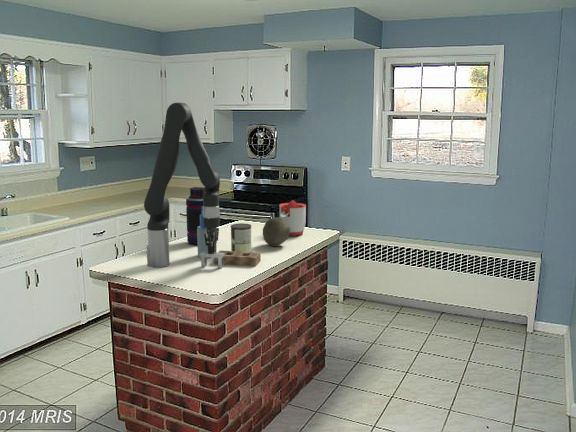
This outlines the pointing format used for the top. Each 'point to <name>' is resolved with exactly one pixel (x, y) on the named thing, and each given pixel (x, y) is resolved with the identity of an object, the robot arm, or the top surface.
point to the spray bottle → (201, 236)
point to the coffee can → (241, 237)
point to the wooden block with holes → (240, 258)
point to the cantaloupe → (276, 231)
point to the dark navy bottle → (194, 212)
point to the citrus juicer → (294, 216)
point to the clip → (215, 255)
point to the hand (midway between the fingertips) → (212, 252)
